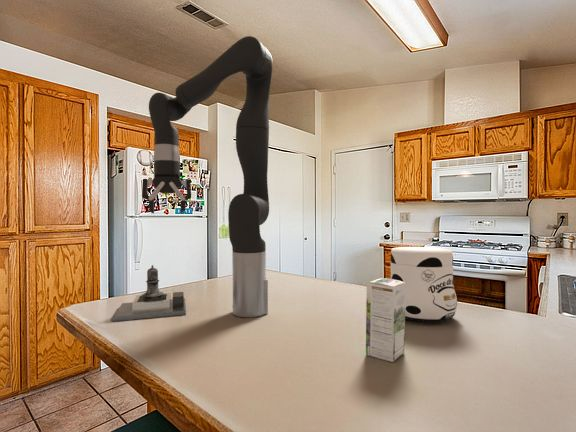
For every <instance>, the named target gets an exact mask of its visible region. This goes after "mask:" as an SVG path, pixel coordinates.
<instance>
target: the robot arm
mask: <svg viewBox="0 0 576 432" xmlns="http://www.w3.org/2000/svg"><path fill="white" fill-rule="evenodd" d="M273 69H274V60H273V57H272V54H271V52H270V51H269V49H268V48H267V47H266V46H265V45H264V44H263V42H261V41H260V40H259V39H258V38H256V37H255V36H251V35H249V36H248V35H247V36H244V37H242V38H240V39H238V40H237V41H236V42H235V43H233V44H232V45H231V46H230V47H228V48H227V50H225V51H224V52H223V53H222V54H221V55H219V56H218V57H217V58H216V59H214V61H213V62H212V63H211V64H209V65H208V66H207V67H206V68H204V69H202V71H200V72H199V73H197V74H195V75H194V76H193V77H191V78H189V79H187V80H186V81H185V82H183V83H180V84H179V85H178V86H177V87H176V88H175V97H172V96H170V95H168V94H165V93H163V92H155V93H153V94H152V95H151V97H150V99H149V102H148V112H149V116H150V120H151V124H152V128H153V130H154V150H153V179H149V178H148V179H147V178H143V179H142V189H141V190H142V192H141V193H142V194H141V198H142V199H143V200H147V201H148V211H149V212H150V213H151V214H155V201H154V200H155V198H156V197H157V196H158V195H159V193H161V194H170V195H171V194H176V195H177V197H178V198H179V199H180V213H181V214H184V212H186V201H187V200H190V199H191V198H192V187H191V186H192V185H191V180H190V179H186V180H185V179H184V180H181V173H180V171H181V168H180V167H181V165H180V164H181V163H180V160H181V157H180V155H181V153H180V148H179V147H180V146H179V145H180V143H179V142H180V140H179V139H180V138H179V137H180V136H179V130H178V129H177V128H176V127H175V125H173V124H172V122H176V121H178V120H181V119H183V118H184V117H185V115H187V114H188V113H189V112H190V111H191V110H192V109H193V107H195V106H197V105H199V104H201V103H203V102H205V101H207V99H209V98H211V97H212V96H213V95H214V93H215V92H216V91H217V90H218V88H219V86H220V85H221V84H222V83H223V82H224V81H225V80H226V79H227V78H229V77H230V76H233V75H235V74H237V73H243V74H244V75H245V80H246V82H245V83H246V91H245V93H246V94H245V95H246V96H245V101H244V102H243V105H242V107H241V110H240V112H239V114H238V117H237V120H236V123H235V127H236V128H235V149H236V154H237V157H238V161H239V164H240V167H241V171H242V175H243V193H239V194H237V195H235V196H234V197H233V198H232V199H231V201H230V203H229V205H228V206H229V207H228V210H227V211H228V212H227V213H228V215H227V216H228V217H227V218H228V219H227V220H228V221H227V222H228V235H229V237H228V238H229V242H230V245H231V248H232V250H231V251H232V252H231V253H232V255H231V256H232V257H231V258H232V264H231V265H232V314H233V316H235V317H239V318H255V317H260V316H264V315H268V314H269V295H268V294H269V289H268V287H269V281H268V279H267V274H266V271H267V270H266V263H267V262H266V259H267V258H266V256H267V255H266V242H265V240H264V239H263V238H262V236H261V229H260V228H261V226H262V225H264V224H265V222H266V221H267V219H268V217H269V214H270V200H269V199H270V198H269V187H268V186H269V185H268V170H269V169H268V167H269V164H268V163H269V144H270V143H269V141H270V140H269V139H270V138H269V137H270V132H269V131H270V93H271V86H272V85H271V83H272V78H273ZM152 184H153V186H154V187H155V189H154V190H153V191H152V192H151V193H150V195H148V187H150V186H151V185H152ZM181 185H183V187H185V188H186V195H185V196H184V195H183V193H182V192H181V191H180V190H179V188H180V187H181Z"/></svg>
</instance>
